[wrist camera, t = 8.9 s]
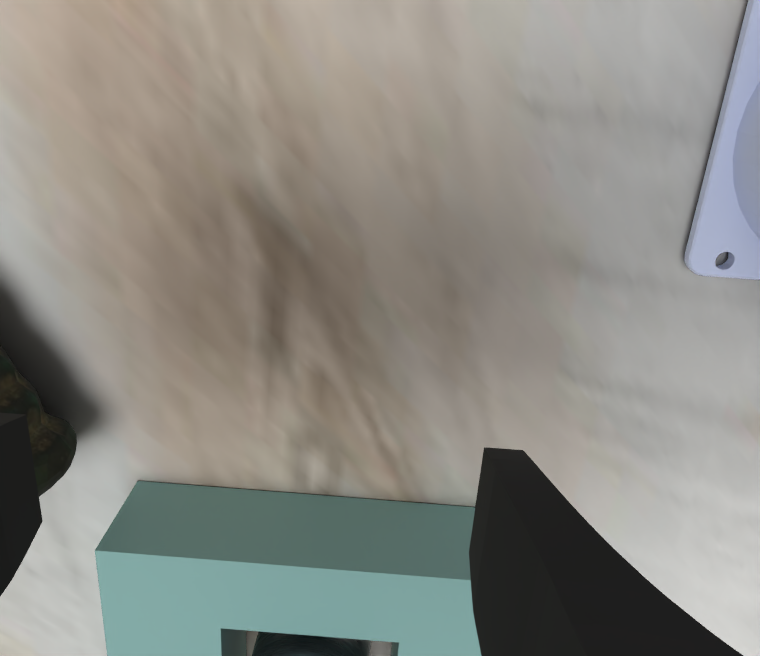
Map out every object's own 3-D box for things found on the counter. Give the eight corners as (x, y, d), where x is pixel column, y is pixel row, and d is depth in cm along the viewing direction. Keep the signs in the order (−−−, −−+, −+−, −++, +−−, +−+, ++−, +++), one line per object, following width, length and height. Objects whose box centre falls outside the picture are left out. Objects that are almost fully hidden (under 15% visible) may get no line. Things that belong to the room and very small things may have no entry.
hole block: (513, 510, 23) (530, 585, 20) (474, 731, 28) (483, 822, 24) (137, 480, 23) (94, 550, 20) (156, 705, 28) (123, 792, 24)
